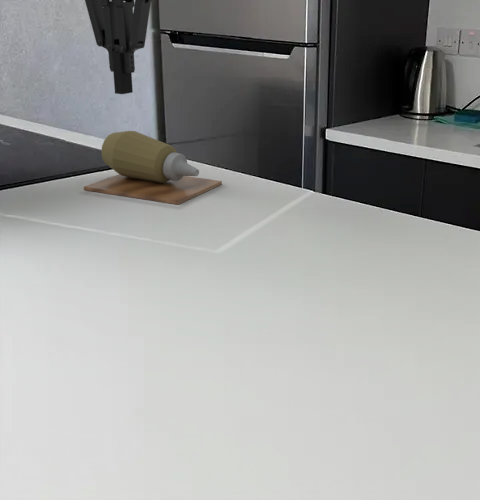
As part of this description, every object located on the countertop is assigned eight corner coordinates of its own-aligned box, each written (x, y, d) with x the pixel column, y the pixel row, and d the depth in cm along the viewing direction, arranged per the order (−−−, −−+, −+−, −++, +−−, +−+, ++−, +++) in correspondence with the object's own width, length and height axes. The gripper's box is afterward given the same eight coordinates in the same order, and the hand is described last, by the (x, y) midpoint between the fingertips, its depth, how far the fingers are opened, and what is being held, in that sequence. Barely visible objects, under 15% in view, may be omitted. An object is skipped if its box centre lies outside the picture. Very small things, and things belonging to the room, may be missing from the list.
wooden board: (83, 190, 113) (83, 186, 112) (134, 171, 125) (134, 168, 125) (178, 204, 107) (178, 201, 107) (222, 184, 120) (222, 180, 120)
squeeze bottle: (121, 175, 124) (203, 199, 118) (90, 166, 116) (176, 192, 110) (133, 132, 123) (216, 154, 117) (103, 121, 116) (190, 144, 110)
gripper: (163, -61, 106) (170, 93, 114) (93, -63, 109) (105, 87, 118) (134, -66, 99) (144, 99, 107) (60, -68, 103) (75, 92, 111)
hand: (123, 92), depth 112 cm, fingers closed
